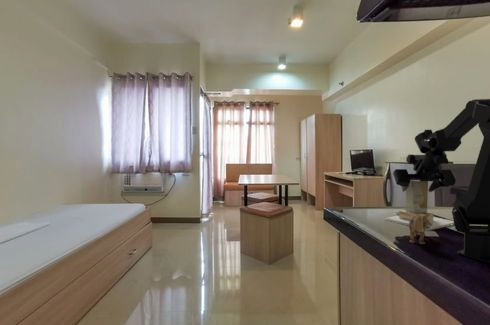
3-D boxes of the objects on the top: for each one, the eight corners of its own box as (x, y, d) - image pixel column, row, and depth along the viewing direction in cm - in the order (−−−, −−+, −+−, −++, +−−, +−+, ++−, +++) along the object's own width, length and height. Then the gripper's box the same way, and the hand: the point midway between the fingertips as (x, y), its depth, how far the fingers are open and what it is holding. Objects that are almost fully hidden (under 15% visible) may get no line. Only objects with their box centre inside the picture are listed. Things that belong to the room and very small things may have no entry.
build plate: (428, 230, 89) (428, 228, 89) (385, 219, 104) (385, 217, 104) (457, 223, 97) (457, 221, 97) (413, 214, 111) (413, 213, 111)
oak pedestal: (420, 223, 95) (420, 215, 95) (399, 218, 103) (399, 210, 102) (433, 220, 99) (433, 212, 99) (412, 216, 106) (412, 208, 106)
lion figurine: (433, 249, 72) (433, 216, 72) (410, 246, 75) (410, 215, 74) (424, 234, 85) (424, 206, 85) (405, 232, 88) (405, 205, 87)
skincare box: (413, 213, 98) (414, 180, 97) (404, 210, 102) (404, 179, 102) (428, 212, 99) (428, 180, 98) (418, 210, 103) (419, 179, 103)
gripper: (452, 146, 93) (435, 175, 104) (395, 147, 97) (384, 174, 108) (466, 170, 86) (446, 198, 97) (403, 170, 89) (391, 197, 100)
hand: (415, 191), depth 101 cm, fingers open, 9 cm apart
